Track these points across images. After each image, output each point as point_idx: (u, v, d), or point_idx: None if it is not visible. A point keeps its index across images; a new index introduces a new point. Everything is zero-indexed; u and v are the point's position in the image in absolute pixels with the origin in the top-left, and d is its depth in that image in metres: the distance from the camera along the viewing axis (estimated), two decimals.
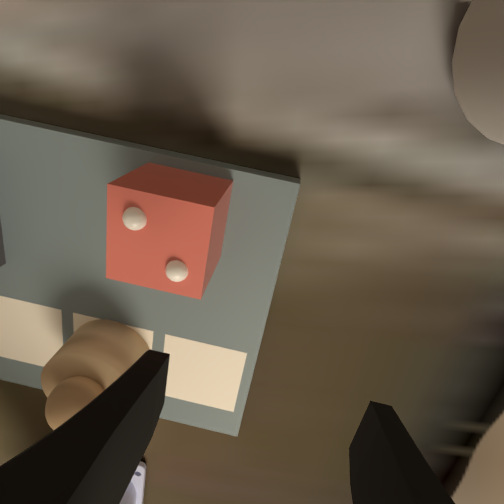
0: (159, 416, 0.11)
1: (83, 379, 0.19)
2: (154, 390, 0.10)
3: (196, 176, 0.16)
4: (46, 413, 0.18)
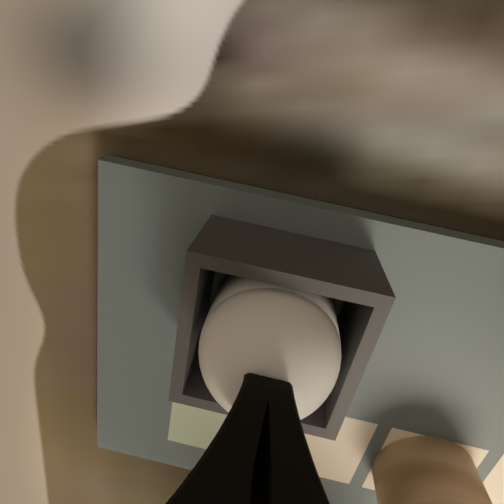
0: None
1: None
2: None
3: None
4: None
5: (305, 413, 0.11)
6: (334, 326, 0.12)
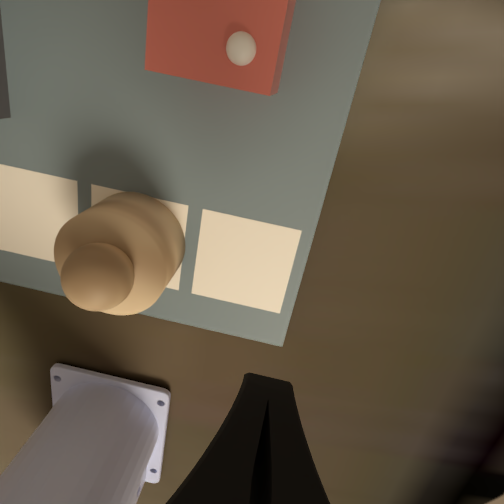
0: None
1: (107, 244, 0.15)
2: None
3: None
4: (62, 278, 0.14)
5: None
6: None
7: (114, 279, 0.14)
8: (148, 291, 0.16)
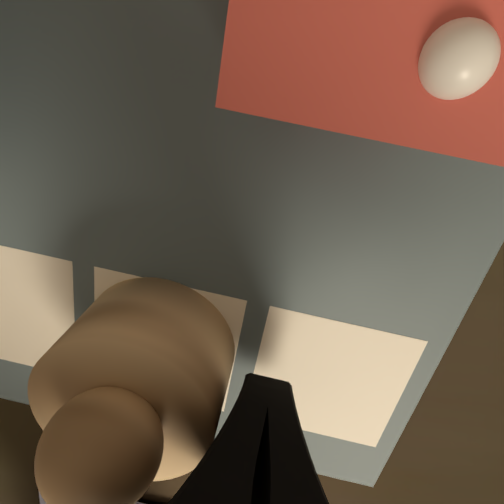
0: None
1: (118, 394, 0.09)
2: None
3: None
4: (37, 474, 0.08)
5: None
6: None
7: (131, 475, 0.08)
8: (184, 454, 0.10)
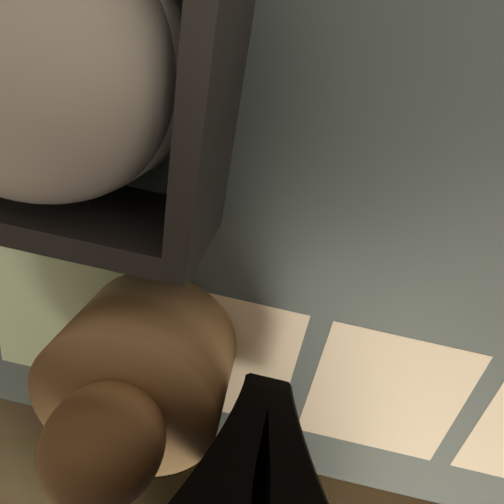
0: None
1: (123, 388, 0.09)
2: None
3: None
4: (39, 466, 0.08)
5: (51, 120, 0.05)
6: None
7: (136, 471, 0.08)
8: (184, 451, 0.10)
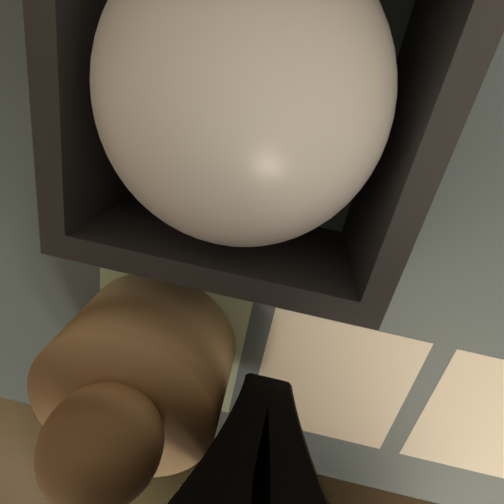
0: None
1: (121, 389, 0.09)
2: None
3: None
4: (37, 467, 0.08)
5: (322, 176, 0.05)
6: None
7: (133, 472, 0.08)
8: (183, 451, 0.10)
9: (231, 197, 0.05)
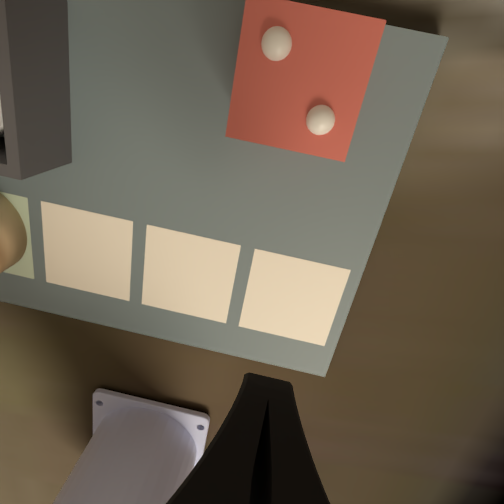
0: None
1: None
2: None
3: None
4: None
5: None
6: None
7: None
8: None
9: None
